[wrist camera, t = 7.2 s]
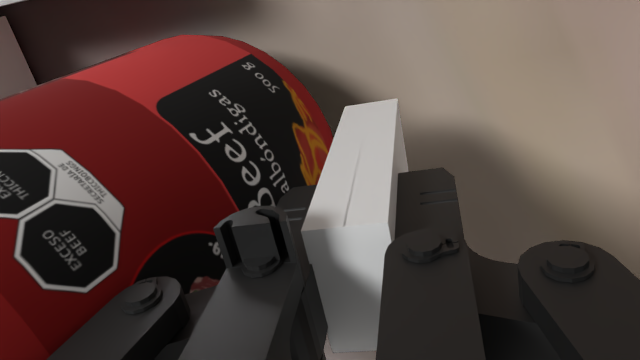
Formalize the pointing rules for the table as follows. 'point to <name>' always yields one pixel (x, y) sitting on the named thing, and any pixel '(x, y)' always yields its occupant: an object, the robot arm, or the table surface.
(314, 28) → the table surface
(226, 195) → the canned food
